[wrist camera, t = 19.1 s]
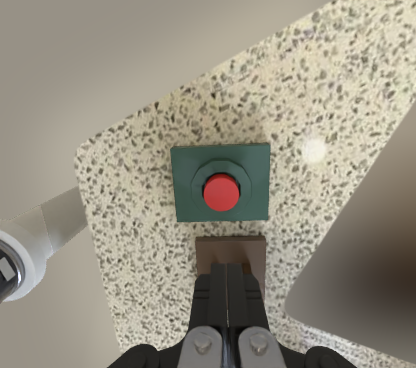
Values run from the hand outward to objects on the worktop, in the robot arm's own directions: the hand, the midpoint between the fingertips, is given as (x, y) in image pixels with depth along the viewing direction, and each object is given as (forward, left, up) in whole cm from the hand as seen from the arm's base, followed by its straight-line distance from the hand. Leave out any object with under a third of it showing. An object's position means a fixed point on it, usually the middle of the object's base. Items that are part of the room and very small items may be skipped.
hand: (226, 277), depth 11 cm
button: (0, 0, -14) cm, 14 cm away
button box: (0, 0, -17) cm, 17 cm away
